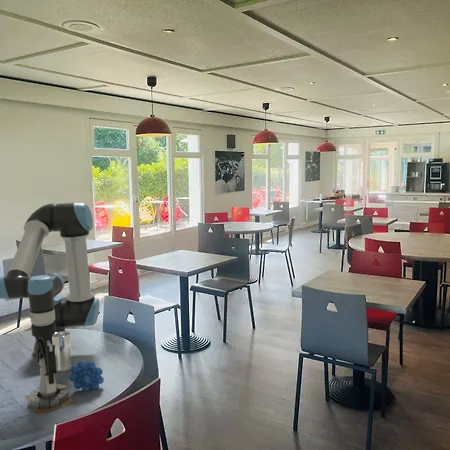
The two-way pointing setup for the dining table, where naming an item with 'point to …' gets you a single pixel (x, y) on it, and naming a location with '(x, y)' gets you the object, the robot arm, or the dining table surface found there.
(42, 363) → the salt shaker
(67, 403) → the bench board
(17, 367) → the dining table surface
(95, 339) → the dining table surface
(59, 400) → the grey segmented ring
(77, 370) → the grapes
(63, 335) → the beer glass
